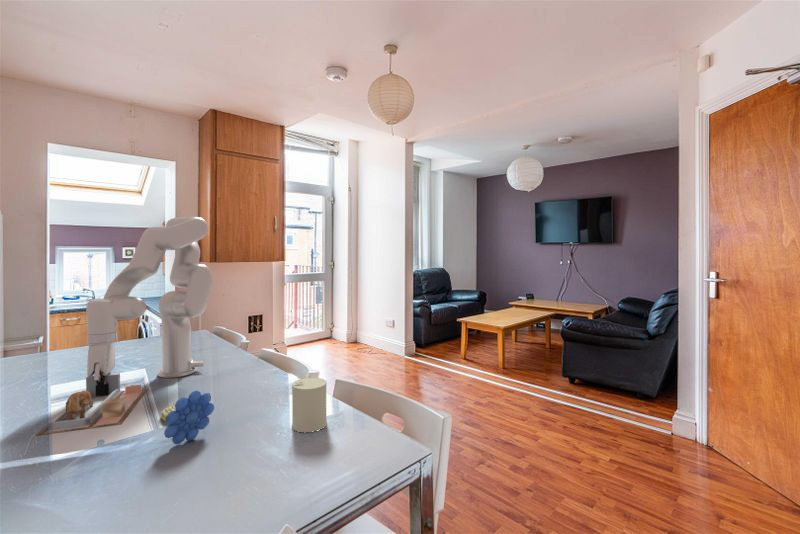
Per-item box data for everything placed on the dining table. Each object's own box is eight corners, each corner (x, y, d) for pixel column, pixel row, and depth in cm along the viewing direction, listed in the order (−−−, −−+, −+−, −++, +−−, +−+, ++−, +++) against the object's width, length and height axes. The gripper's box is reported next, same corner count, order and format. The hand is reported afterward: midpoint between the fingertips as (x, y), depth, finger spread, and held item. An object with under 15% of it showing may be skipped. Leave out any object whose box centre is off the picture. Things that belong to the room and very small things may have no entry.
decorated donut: (211, 418, 106) (211, 405, 106) (168, 431, 98) (168, 417, 98) (198, 407, 113) (198, 395, 113) (157, 419, 105) (156, 405, 105)
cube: (124, 410, 108) (124, 396, 107) (120, 416, 104) (120, 402, 104) (107, 412, 106) (107, 398, 106) (102, 418, 102) (102, 404, 102)
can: (289, 421, 104) (289, 378, 103) (323, 415, 107) (323, 374, 107) (294, 436, 95) (294, 389, 95) (330, 429, 99) (330, 384, 98)
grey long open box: (120, 394, 123) (119, 373, 122) (88, 428, 99) (88, 402, 99) (88, 398, 119) (87, 376, 119) (48, 433, 96) (47, 406, 96)
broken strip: (142, 392, 124) (142, 383, 124) (117, 425, 100) (117, 414, 100) (125, 394, 122) (125, 385, 122) (95, 428, 99) (95, 417, 98)
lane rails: (148, 391, 125) (148, 388, 125) (121, 427, 99) (121, 423, 99) (82, 399, 119) (82, 395, 119) (36, 439, 93) (35, 434, 93)
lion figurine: (90, 425, 101) (90, 392, 100) (64, 431, 97) (63, 396, 97) (94, 407, 112) (94, 377, 112) (71, 411, 109) (70, 381, 109)
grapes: (206, 426, 100) (205, 382, 100) (219, 434, 96) (218, 387, 96) (157, 444, 91) (156, 395, 90) (169, 453, 87) (168, 402, 86)
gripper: (97, 334, 126) (98, 388, 126) (77, 344, 111) (78, 406, 112) (124, 332, 128) (125, 385, 129) (108, 342, 114) (109, 402, 114)
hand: (103, 394), depth 120 cm, fingers closed
